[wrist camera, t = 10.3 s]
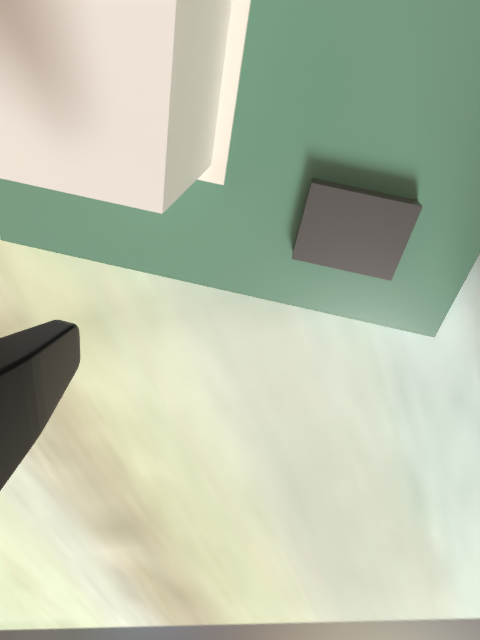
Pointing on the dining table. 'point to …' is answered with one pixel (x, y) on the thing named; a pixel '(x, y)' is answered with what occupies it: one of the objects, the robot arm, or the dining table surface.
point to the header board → (313, 168)
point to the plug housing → (111, 95)
